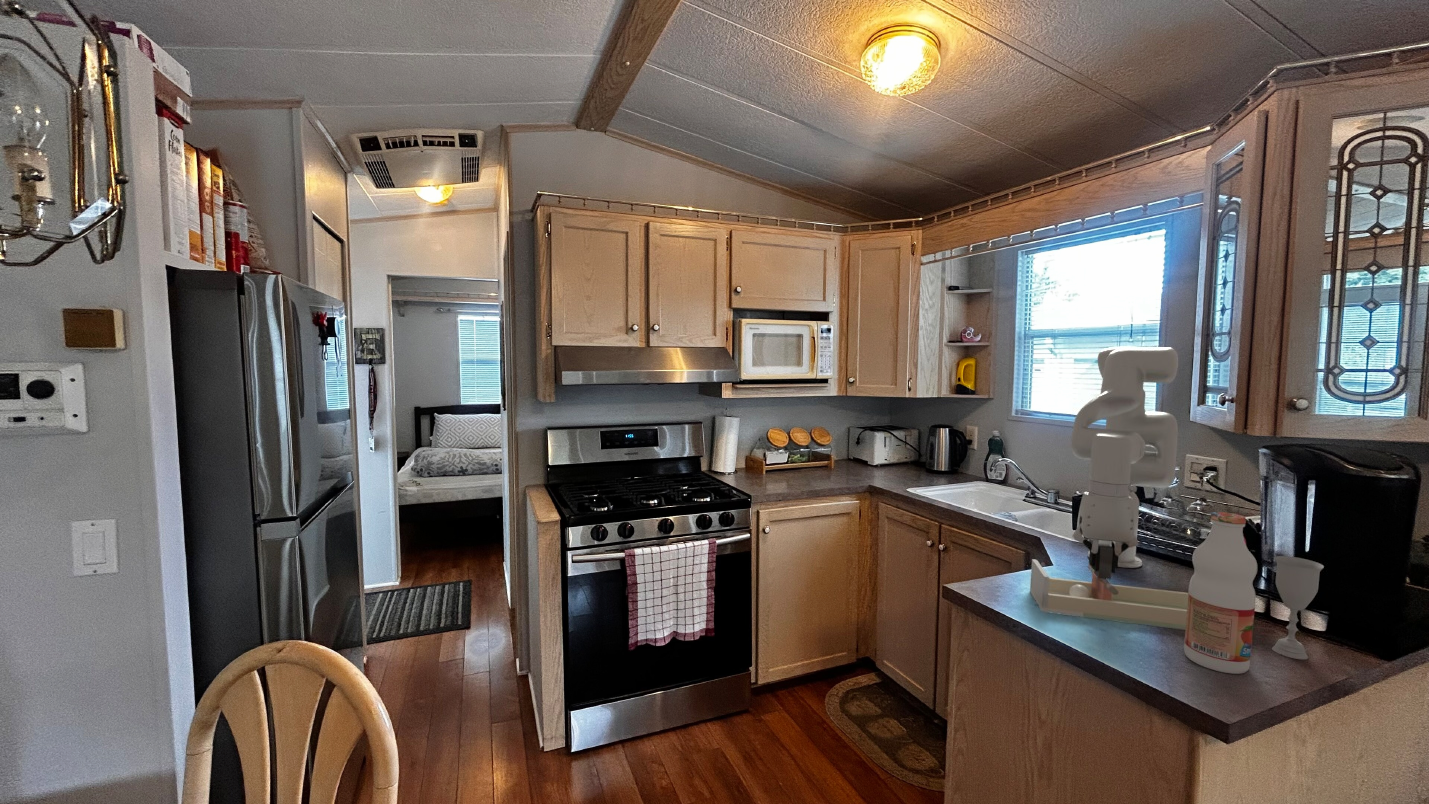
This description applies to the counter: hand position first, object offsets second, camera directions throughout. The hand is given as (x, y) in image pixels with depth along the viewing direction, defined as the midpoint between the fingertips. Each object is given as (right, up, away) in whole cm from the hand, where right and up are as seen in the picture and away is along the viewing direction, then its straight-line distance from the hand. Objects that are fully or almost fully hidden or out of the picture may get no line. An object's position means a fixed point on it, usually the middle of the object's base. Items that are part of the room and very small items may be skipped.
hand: (1102, 569), depth 133 cm
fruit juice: (+7, -11, -22) cm, 26 cm away
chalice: (+24, -11, -18) cm, 32 cm away
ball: (-4, -6, +2) cm, 7 cm away
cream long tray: (+3, -9, 0) cm, 10 cm away
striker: (0, -8, +1) cm, 8 cm away
